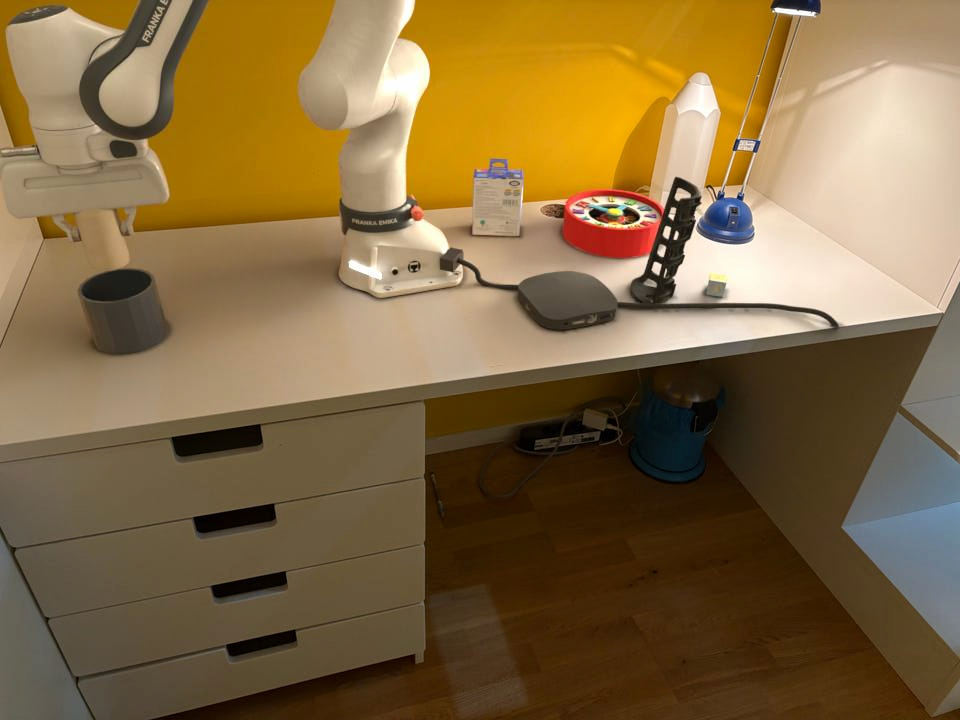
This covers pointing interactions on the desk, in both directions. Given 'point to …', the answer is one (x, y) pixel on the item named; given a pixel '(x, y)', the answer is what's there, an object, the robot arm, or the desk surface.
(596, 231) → the toy clock
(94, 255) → the candle
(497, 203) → the ink cartridge box
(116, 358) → the desk surface
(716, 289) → the alphabet block
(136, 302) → the pen holder
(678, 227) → the holder
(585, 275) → the media streaming box
